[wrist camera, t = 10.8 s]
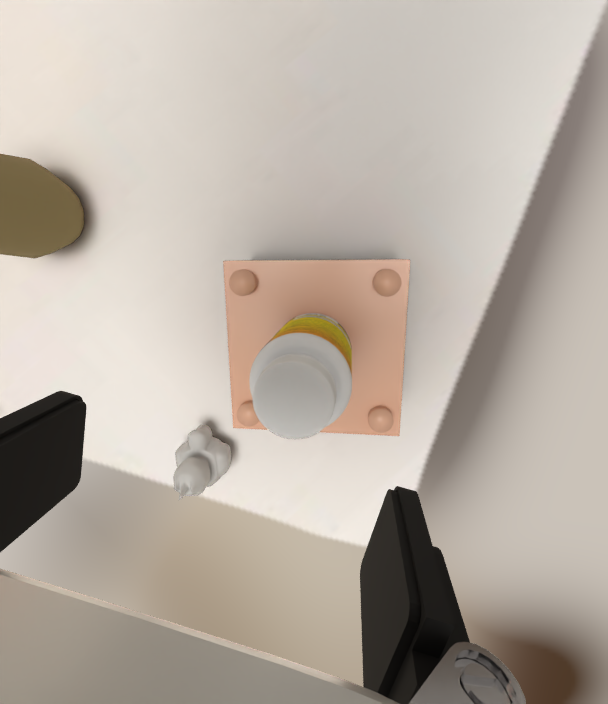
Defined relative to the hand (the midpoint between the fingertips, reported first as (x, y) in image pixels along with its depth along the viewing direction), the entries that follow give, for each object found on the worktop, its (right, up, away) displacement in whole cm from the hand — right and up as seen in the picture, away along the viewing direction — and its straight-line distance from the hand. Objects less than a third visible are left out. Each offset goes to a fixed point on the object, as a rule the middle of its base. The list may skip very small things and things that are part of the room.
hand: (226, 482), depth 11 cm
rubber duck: (-8, -6, +28) cm, 30 cm away
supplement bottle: (+3, +4, +16) cm, 17 cm away
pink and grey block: (+4, +6, +24) cm, 25 cm away
